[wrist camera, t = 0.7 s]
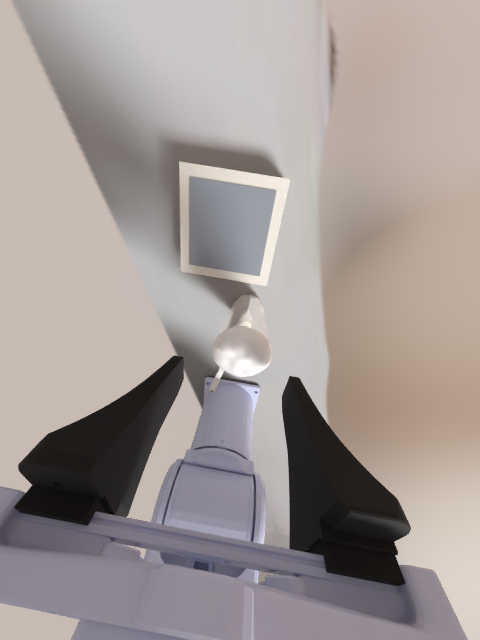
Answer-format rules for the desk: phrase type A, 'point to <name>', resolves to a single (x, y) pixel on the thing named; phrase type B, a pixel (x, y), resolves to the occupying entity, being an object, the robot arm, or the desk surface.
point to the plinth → (229, 222)
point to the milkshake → (242, 340)
